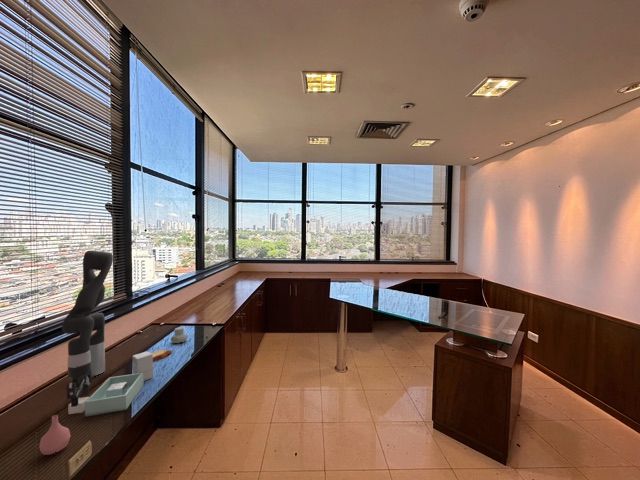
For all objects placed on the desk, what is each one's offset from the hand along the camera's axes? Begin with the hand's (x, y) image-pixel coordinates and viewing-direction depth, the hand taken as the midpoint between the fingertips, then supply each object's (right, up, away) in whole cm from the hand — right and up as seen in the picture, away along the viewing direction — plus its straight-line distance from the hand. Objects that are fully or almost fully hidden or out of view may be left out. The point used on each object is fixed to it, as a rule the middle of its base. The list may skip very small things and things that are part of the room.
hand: (80, 400), depth 117 cm
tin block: (+10, -3, +8) cm, 13 cm away
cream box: (0, -4, 0) cm, 4 cm away
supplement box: (+10, -4, +26) cm, 28 cm away
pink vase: (+13, -4, -24) cm, 27 cm away
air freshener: (+2, -5, +79) cm, 79 cm away
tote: (+10, -4, +7) cm, 13 cm away
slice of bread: (+1, -5, +52) cm, 52 cm away
